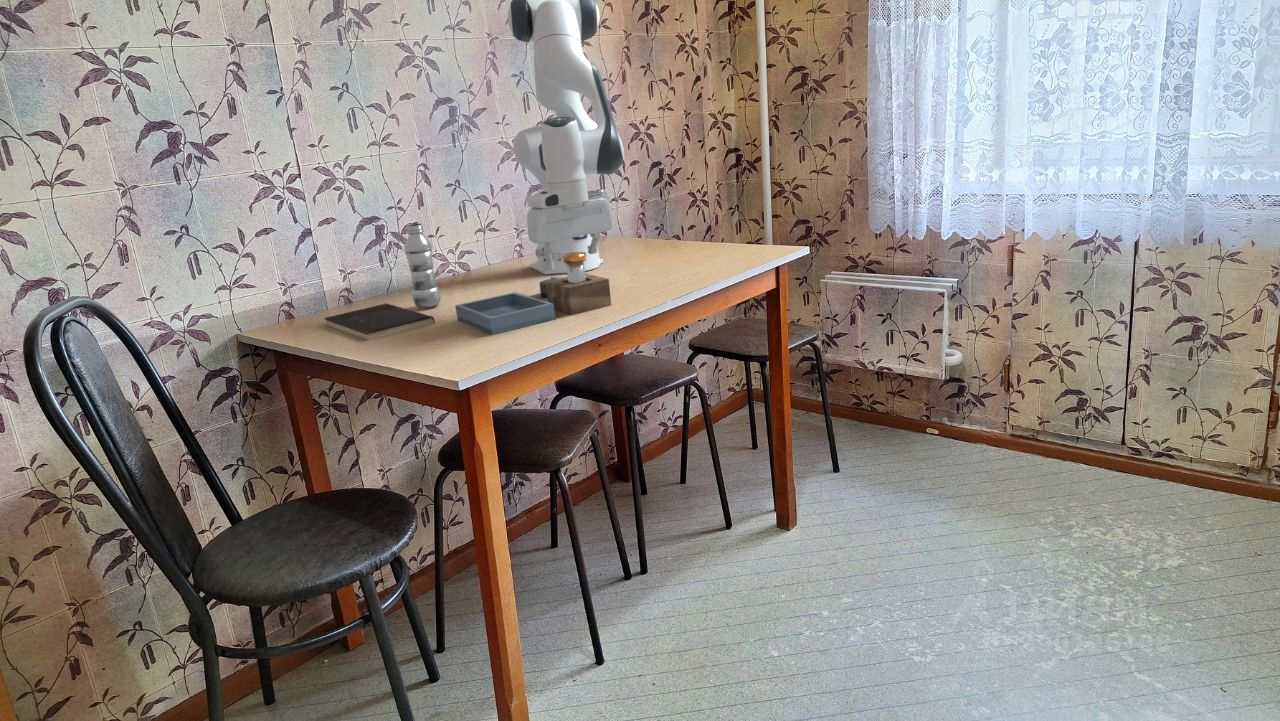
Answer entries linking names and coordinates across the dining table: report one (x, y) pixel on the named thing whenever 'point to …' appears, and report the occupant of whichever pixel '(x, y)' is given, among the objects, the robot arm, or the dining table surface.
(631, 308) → the dining table surface
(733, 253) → the dining table surface
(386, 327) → the hardcover book
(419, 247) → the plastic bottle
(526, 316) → the tray
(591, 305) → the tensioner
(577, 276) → the pin
